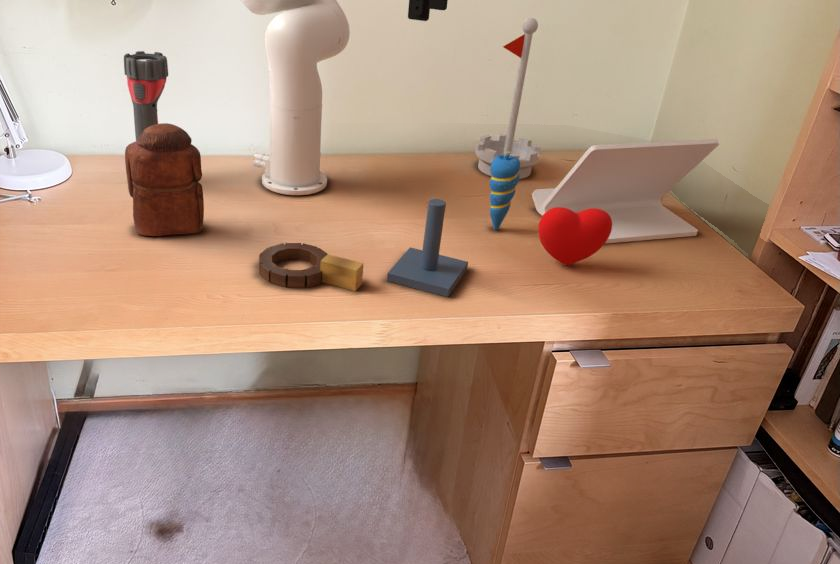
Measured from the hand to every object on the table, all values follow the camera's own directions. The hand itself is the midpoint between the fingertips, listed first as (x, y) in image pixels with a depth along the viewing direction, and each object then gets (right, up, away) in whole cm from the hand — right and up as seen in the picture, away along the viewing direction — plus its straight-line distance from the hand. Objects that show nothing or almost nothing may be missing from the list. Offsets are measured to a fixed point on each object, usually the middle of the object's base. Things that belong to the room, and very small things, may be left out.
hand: (427, 14), depth 121 cm
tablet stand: (+37, -29, +23) cm, 52 cm away
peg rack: (0, -41, +1) cm, 41 cm away
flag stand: (+21, -15, +42) cm, 49 cm away
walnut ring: (-18, -41, 0) cm, 45 cm away
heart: (+24, -39, +7) cm, 46 cm away
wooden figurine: (-43, -32, +10) cm, 54 cm away
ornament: (+14, -31, +17) cm, 38 cm away
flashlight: (-49, -20, +28) cm, 60 cm away
